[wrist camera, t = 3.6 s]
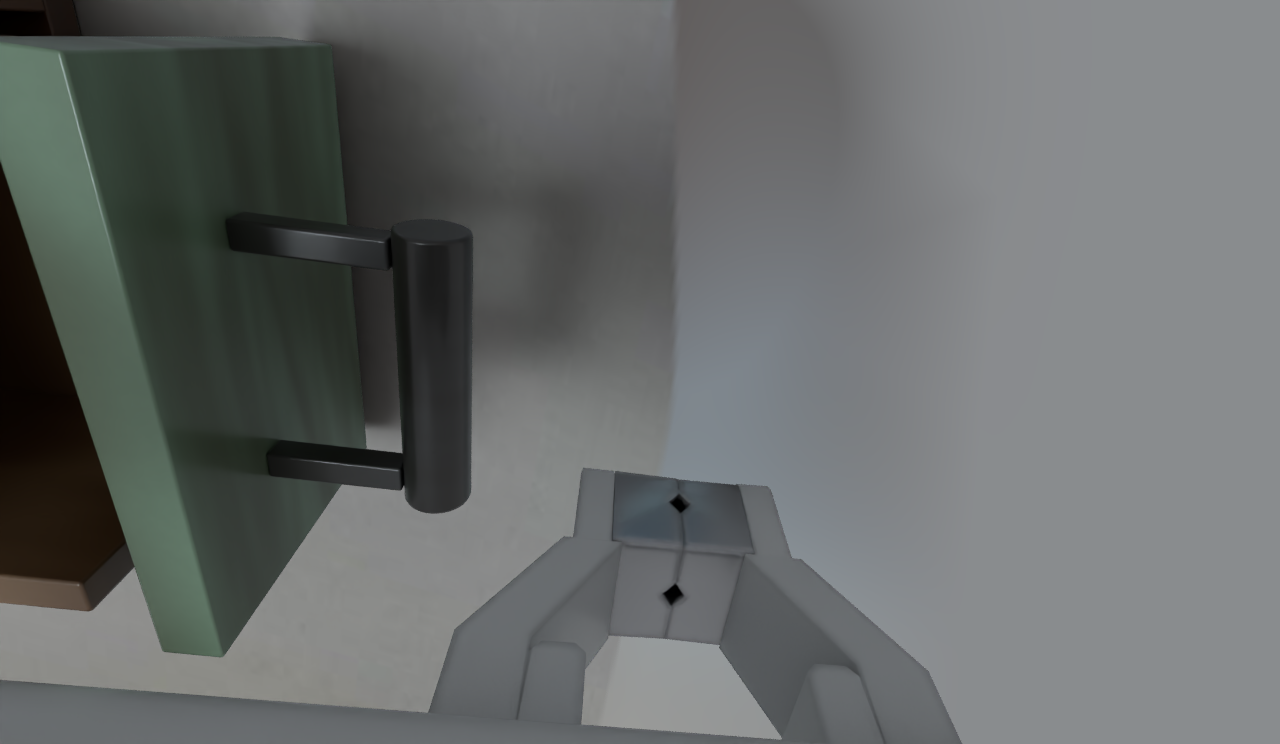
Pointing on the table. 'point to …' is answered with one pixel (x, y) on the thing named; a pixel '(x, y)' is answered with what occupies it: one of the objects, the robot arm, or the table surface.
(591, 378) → the table surface
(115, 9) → the table surface
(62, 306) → the drawer
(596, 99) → the table surface
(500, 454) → the table surface
